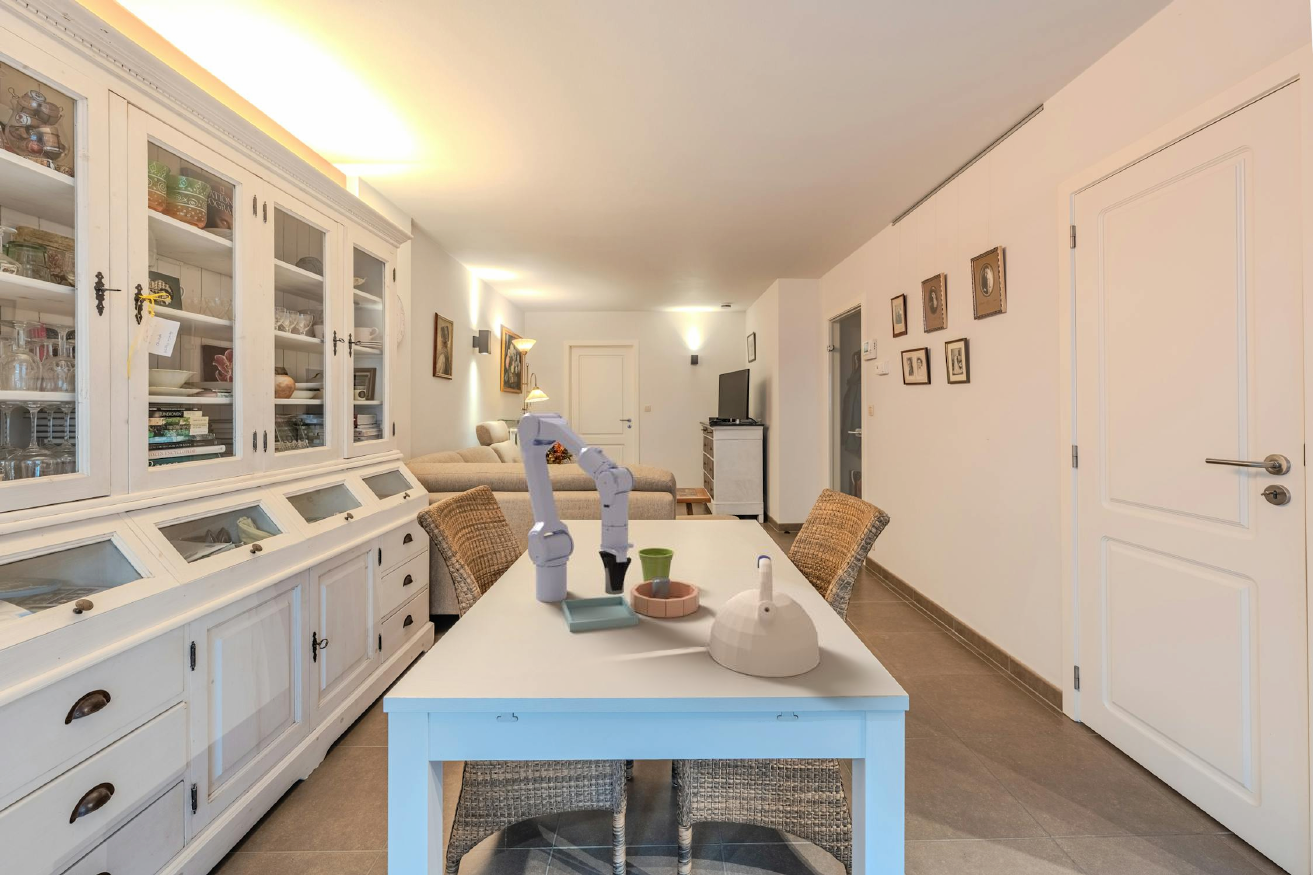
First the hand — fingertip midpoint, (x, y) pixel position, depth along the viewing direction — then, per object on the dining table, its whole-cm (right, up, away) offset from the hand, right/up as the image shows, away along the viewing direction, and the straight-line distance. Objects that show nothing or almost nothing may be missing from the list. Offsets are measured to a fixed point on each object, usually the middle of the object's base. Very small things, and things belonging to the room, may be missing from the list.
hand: (614, 586), depth 123 cm
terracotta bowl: (+11, -7, +6) cm, 14 cm away
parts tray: (-3, -7, -1) cm, 8 cm away
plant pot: (+9, -6, +24) cm, 26 cm away
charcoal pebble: (+10, -6, +9) cm, 14 cm away
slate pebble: (0, -1, 0) cm, 1 cm away
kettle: (+29, -8, -17) cm, 34 cm away
